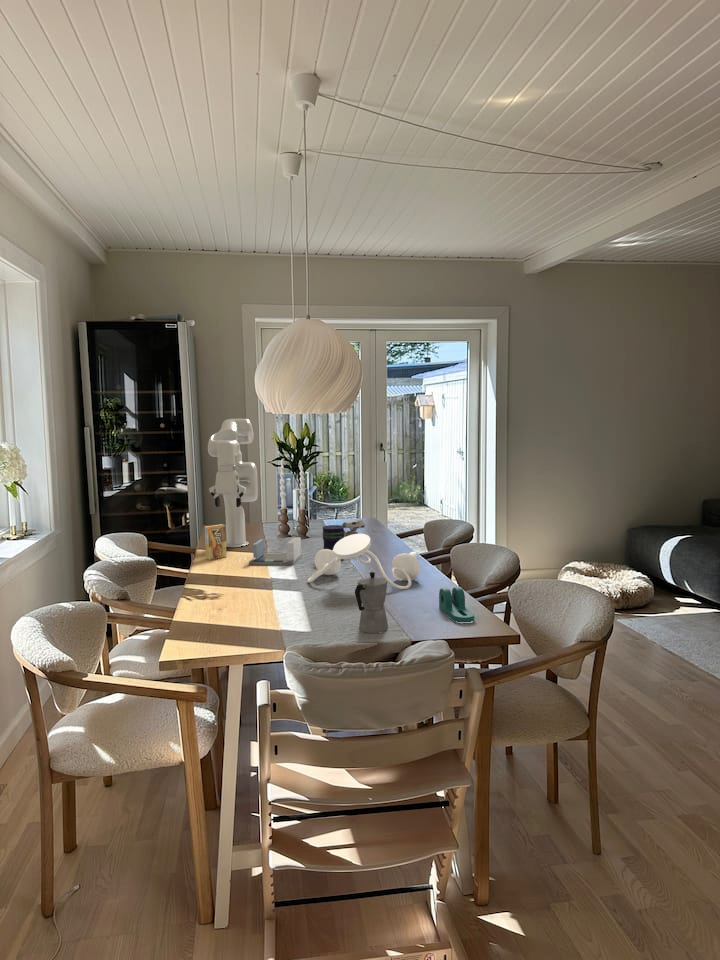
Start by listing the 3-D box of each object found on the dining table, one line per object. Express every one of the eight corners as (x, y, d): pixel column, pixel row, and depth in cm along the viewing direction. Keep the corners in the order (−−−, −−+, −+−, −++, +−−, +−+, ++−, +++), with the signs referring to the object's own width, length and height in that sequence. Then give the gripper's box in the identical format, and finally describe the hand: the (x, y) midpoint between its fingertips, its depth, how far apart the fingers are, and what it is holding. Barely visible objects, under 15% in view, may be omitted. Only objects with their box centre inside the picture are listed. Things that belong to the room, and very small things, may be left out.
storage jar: (333, 562, 304) (332, 529, 302) (318, 559, 310) (317, 527, 309) (349, 558, 311) (348, 526, 309) (334, 556, 317) (333, 524, 316)
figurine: (368, 552, 323) (367, 521, 321) (344, 554, 321) (344, 522, 319) (364, 548, 332) (363, 518, 330) (341, 550, 330) (340, 519, 328)
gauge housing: (260, 556, 320) (259, 536, 319) (302, 556, 318) (301, 536, 317) (249, 565, 303) (248, 544, 302) (293, 565, 300) (292, 544, 299)
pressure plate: (261, 553, 317) (260, 539, 316) (264, 553, 317) (263, 539, 316) (251, 560, 303) (251, 545, 302) (255, 560, 303) (254, 545, 302)
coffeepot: (373, 620, 220) (372, 565, 218) (397, 625, 214) (396, 569, 212) (344, 634, 208) (342, 576, 206) (369, 639, 202) (368, 580, 200)
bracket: (439, 609, 232) (438, 586, 231) (458, 607, 233) (457, 584, 232) (457, 625, 214) (457, 600, 213) (477, 623, 216) (477, 599, 215)
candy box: (222, 555, 323) (221, 524, 322) (227, 557, 320) (225, 525, 318) (205, 558, 318) (204, 526, 316) (209, 560, 314) (208, 527, 313)
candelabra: (401, 558, 243) (426, 520, 276) (286, 552, 258) (324, 517, 291) (405, 609, 249) (429, 565, 282) (293, 600, 264) (329, 560, 297)
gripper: (247, 467, 307) (249, 505, 309) (211, 468, 310) (213, 505, 312) (242, 469, 300) (243, 508, 302) (204, 469, 303) (206, 507, 305)
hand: (228, 506), depth 307 cm, fingers open, 9 cm apart
